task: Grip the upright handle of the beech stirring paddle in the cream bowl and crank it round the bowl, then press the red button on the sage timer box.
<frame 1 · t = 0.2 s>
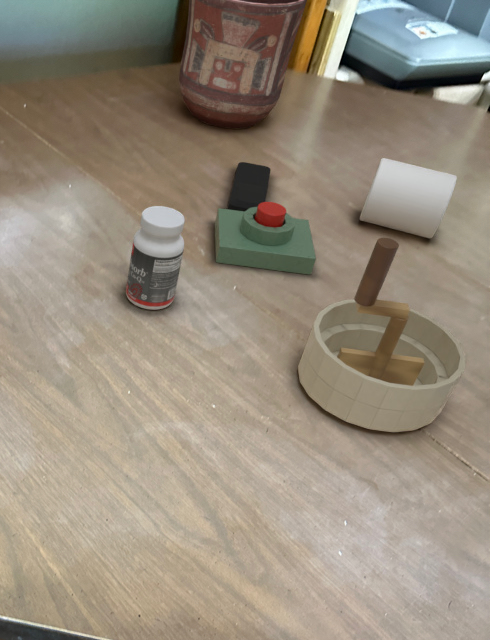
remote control: (248, 195, 110), on the table
timer box: (261, 248, 100), on the table
bowl: (367, 388, 82), on the table
pottery: (222, 116, 128), on the table
pill bottle: (149, 299, 90), on the table
timer button: (270, 215, 96), point 4 cm above the table, slide at 0.1 cm
stirring paddle: (396, 317, 76), point 9 cm above the table, hinge at 0.0°
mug: (396, 221, 108), on the table
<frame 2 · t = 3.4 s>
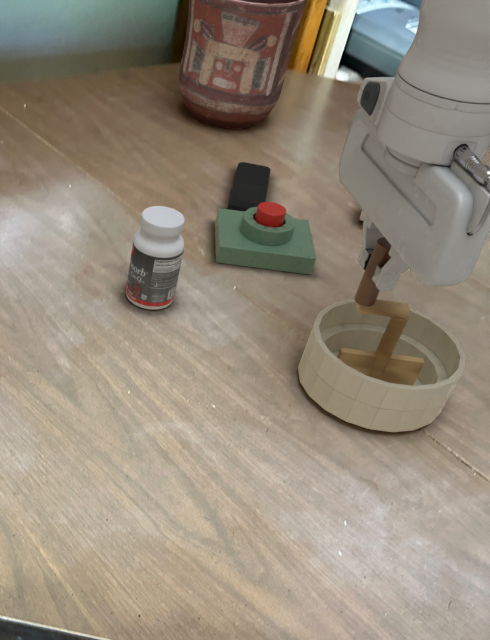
hand: (374, 276, 73), 13 cm above the table, tool pointing down, fingers closed on stirring paddle, 2 cm apart
stirring paddle: (396, 317, 76), point 9 cm above the table, hinge at 0.1°, touching gripper
everything else where it was.
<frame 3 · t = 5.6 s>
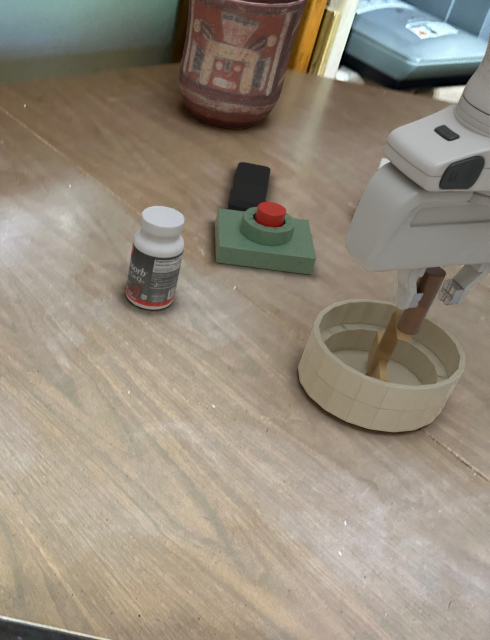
hand: (426, 303, 70), 13 cm above the table, tool pointing down, fingers open, 3 cm apart
stirring paddle: (399, 320, 75), point 9 cm above the table, hinge at 82.8°, touching gripper
everything else where it was.
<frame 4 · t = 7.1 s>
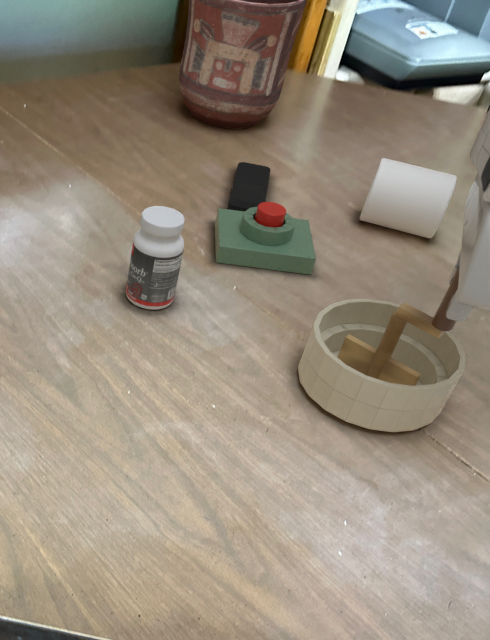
hand: (455, 300, 71), 12 cm above the table, tool pointing down, fingers open, 4 cm apart
stirring paddle: (402, 319, 75), point 9 cm above the table, hinge at 140.2°
everything else where it was.
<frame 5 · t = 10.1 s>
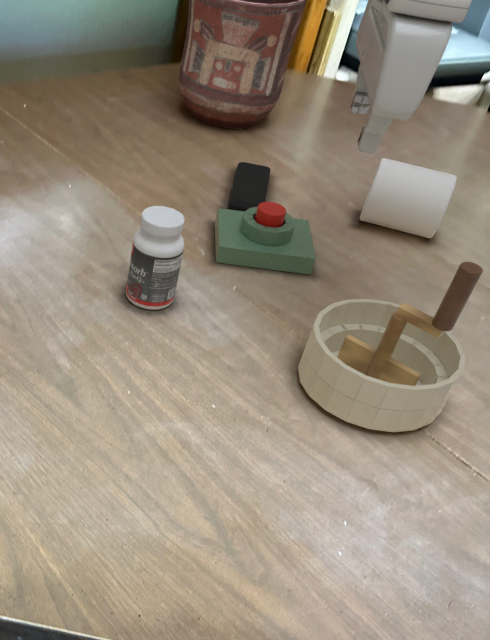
hand: (361, 130, 78), 19 cm above the table, tool pointing down, fingers open, 8 cm apart
stirring paddle: (402, 319, 75), point 9 cm above the table, hinge at 140.6°
everything else where it was.
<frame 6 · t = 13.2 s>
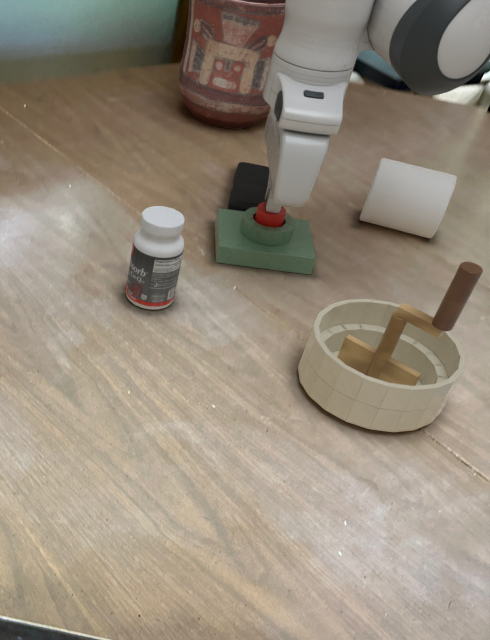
hand: (271, 207, 96), 5 cm above the table, tool pointing down, fingers closed, pressing on timer button
timer button: (270, 215, 96), point 4 cm above the table, slide at 0.1 cm, touching gripper
everything else where it was.
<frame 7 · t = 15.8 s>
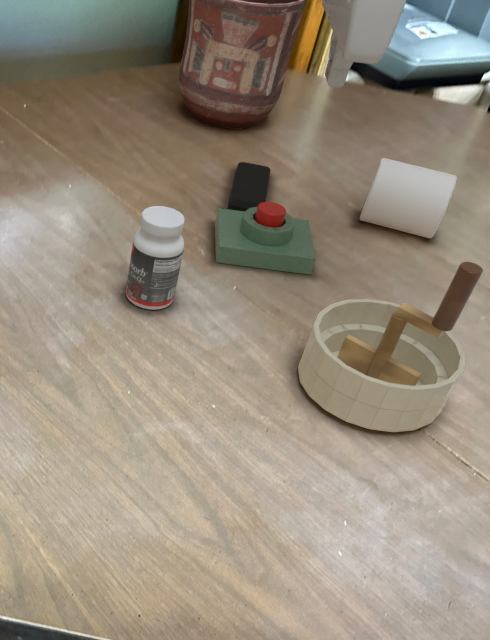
hand: (333, 82, 83), 21 cm above the table, tool pointing down, fingers closed
timer button: (270, 215, 96), point 4 cm above the table, slide at 0.1 cm
everything else where it was.
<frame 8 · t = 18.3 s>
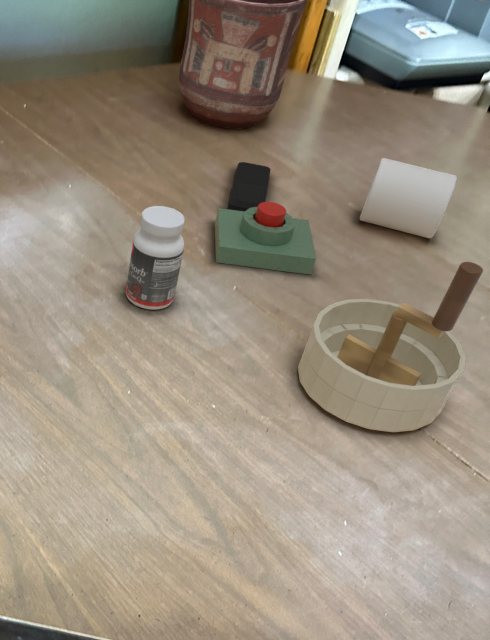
nothing on the table moved.
at the end: stirring paddle at +141° (first picture: +0°); timer button pushed in 1.1 cm at the most during the clip, back to where it started at the end; timer button slide at 0.1 cm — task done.
